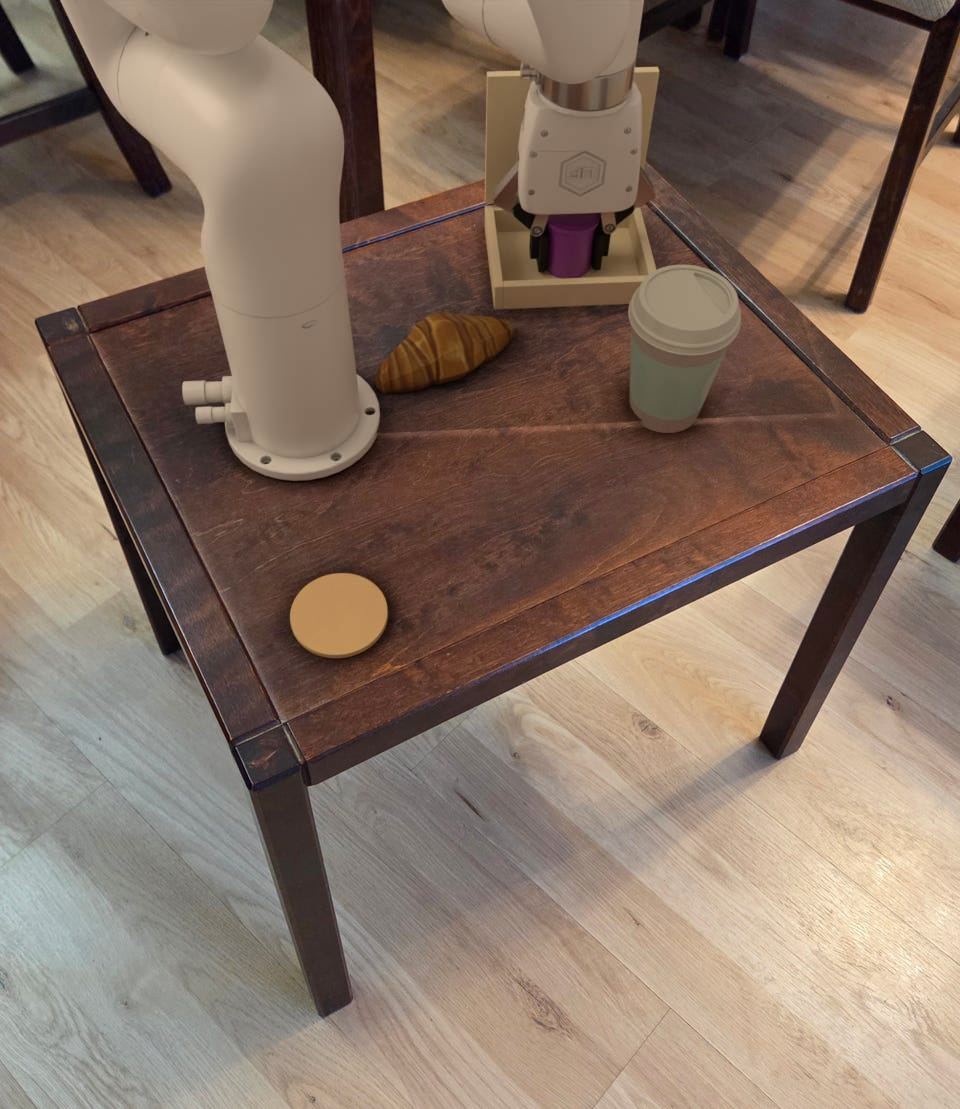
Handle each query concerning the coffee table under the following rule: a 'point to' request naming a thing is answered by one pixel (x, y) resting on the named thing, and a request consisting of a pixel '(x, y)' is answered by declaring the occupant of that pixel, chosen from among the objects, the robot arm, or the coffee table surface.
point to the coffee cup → (678, 343)
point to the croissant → (442, 351)
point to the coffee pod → (570, 244)
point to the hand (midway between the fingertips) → (567, 260)
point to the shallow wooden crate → (532, 289)
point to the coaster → (339, 615)
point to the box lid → (507, 114)
